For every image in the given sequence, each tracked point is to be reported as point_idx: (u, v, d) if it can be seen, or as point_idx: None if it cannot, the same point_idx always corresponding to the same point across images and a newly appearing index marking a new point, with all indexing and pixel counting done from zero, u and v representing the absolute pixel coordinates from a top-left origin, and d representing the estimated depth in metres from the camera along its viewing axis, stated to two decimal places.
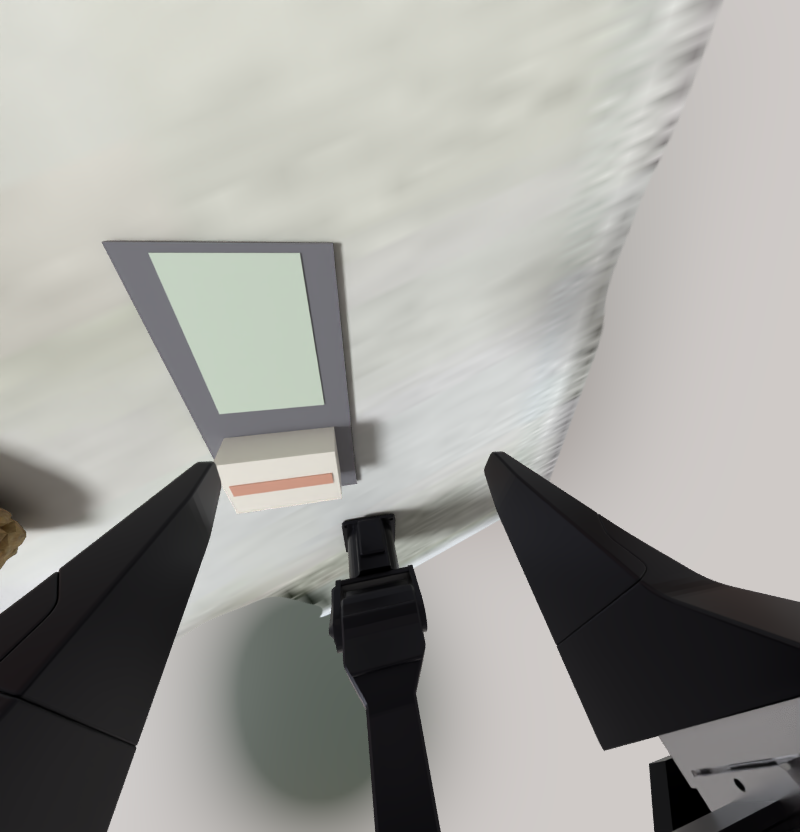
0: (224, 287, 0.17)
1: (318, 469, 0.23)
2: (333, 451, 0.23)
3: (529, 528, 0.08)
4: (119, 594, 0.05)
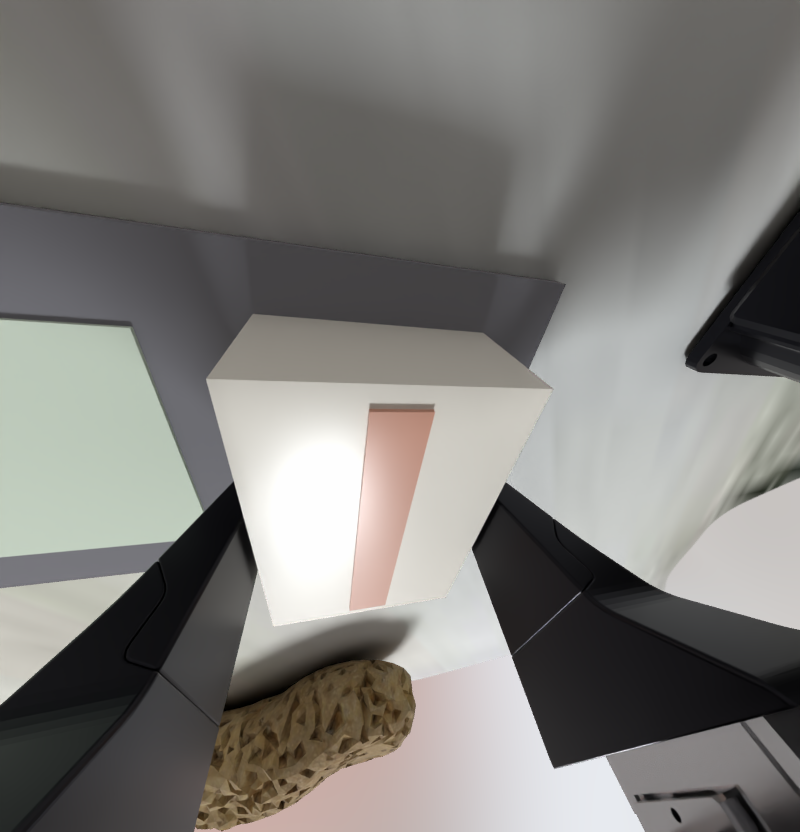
0: None
1: (334, 452, 0.05)
2: (210, 383, 0.04)
3: (486, 533, 0.08)
4: (211, 582, 0.05)
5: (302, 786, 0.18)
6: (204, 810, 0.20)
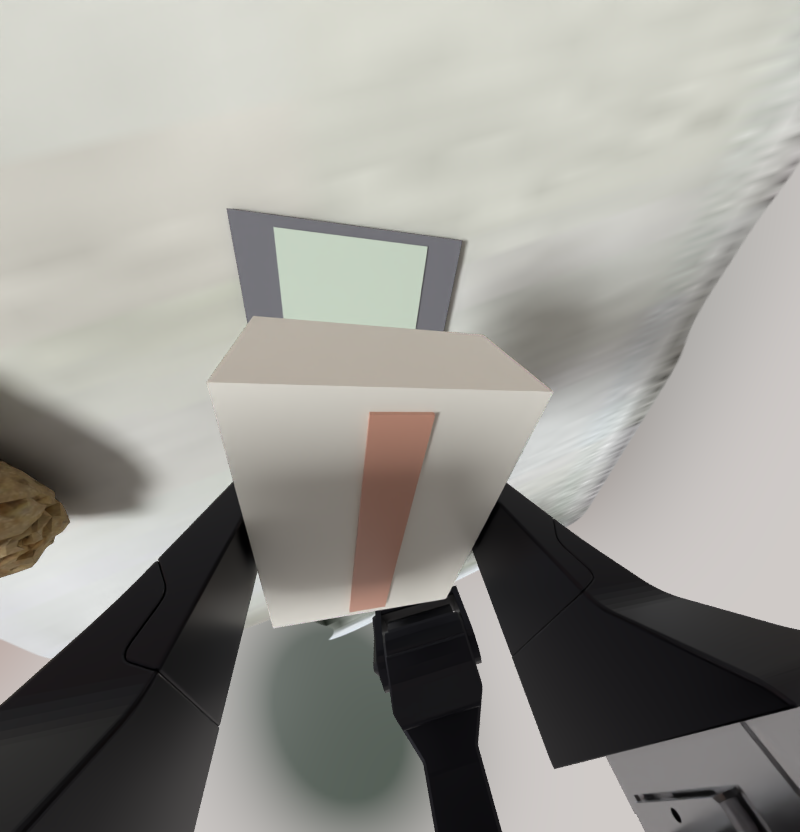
0: (340, 274, 0.16)
1: (334, 455, 0.05)
2: (210, 386, 0.04)
3: (486, 533, 0.08)
4: (212, 583, 0.05)
5: None
6: None
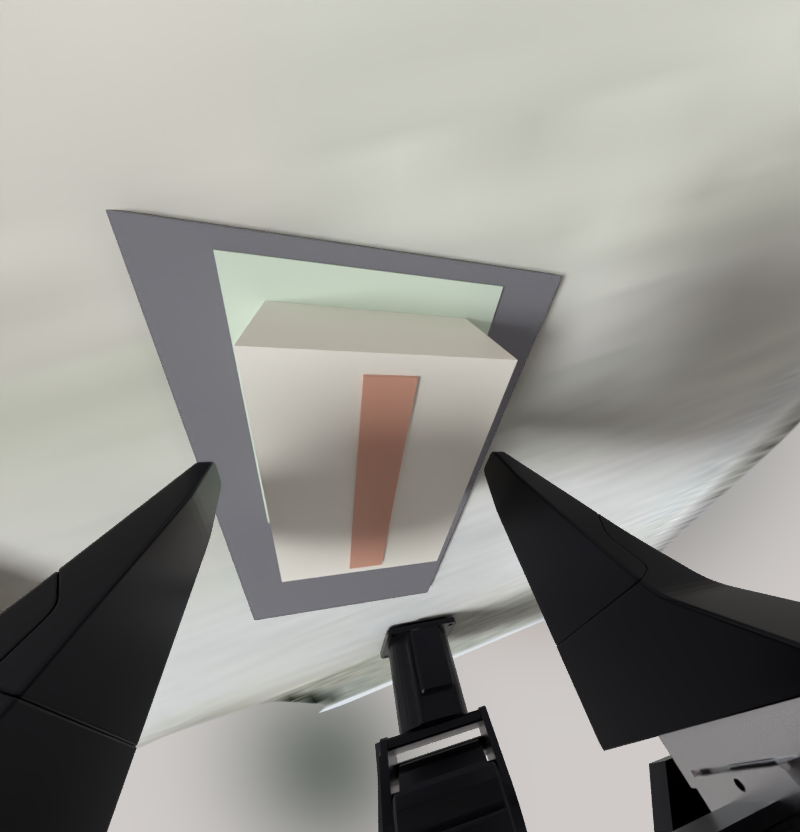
0: None
1: (334, 412, 0.06)
2: (236, 349, 0.05)
3: (529, 528, 0.08)
4: (120, 595, 0.05)
5: None
6: None
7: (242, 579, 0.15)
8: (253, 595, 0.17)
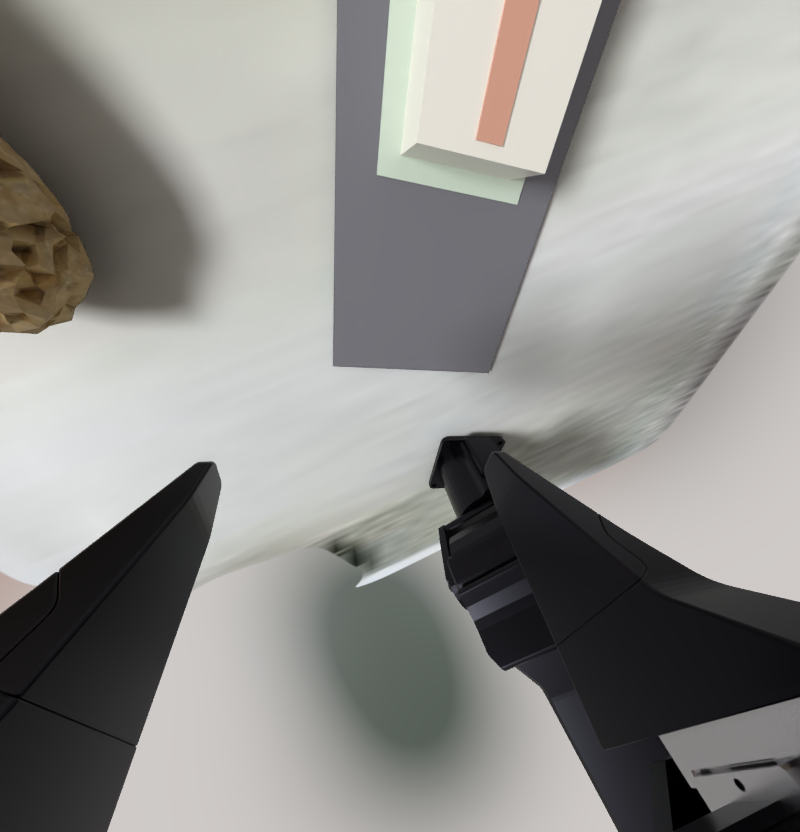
0: None
1: None
2: None
3: (529, 528, 0.08)
4: (120, 595, 0.05)
5: None
6: None
7: (336, 280, 0.16)
8: (340, 317, 0.18)
